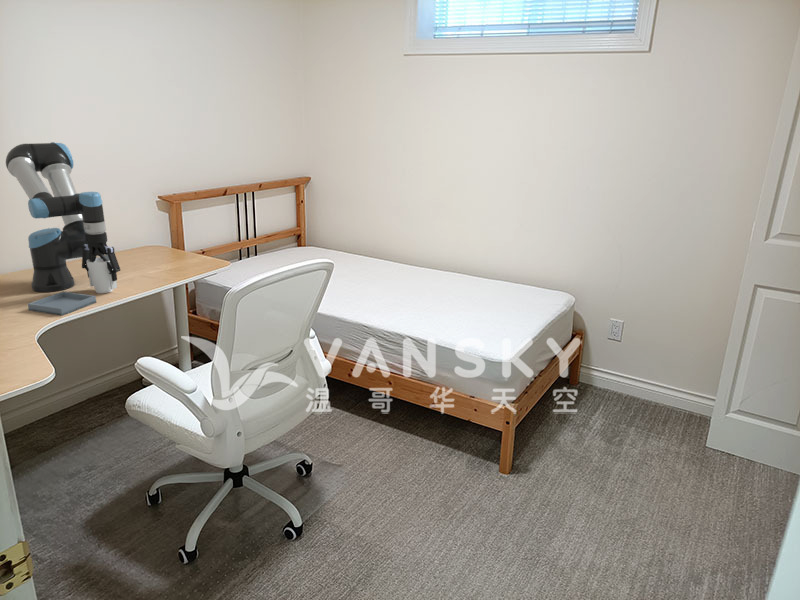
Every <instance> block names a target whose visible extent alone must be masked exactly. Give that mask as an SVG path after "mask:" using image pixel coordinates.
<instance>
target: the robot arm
mask: <svg viewBox="0 0 800 600" xmlns="http://www.w3.org/2000/svg"><path fill="white" fill-rule="evenodd" d="M5 167H6V169H7V171H8V172H9V174H10V175H11V176H13V177H14V178H16V181H18V183H19V185H20V186H21V187H22V189H23V191H24V192H25V194H26V196H27V197H28V202H27V206H28V211H29V214H30V216H31V217H32V218H33V219H48V218H49V219H50V218H57V217H58V218H59V217H61V218H62V221H63V224H64V225H63V227H62V230H61V228H58V227H51V228H50V227H48V228H42V229H39V230H36V231H33V232H32V233H30V234H29V235H28V237H27V238H28V248H29V251H30V256H31V262H32V268H33V273H32V274H33V275H32V281H31V289H32V291H34V292H38V293H49V292H50V293H52V292H58V291H64V290H67V289H70V288H72V287H74V286H75V284H76V283H75V279H74V277H73V275H72V273H71V272H70V270H69V268H68V266H67V260H72V259H73V260H74V259H79V258H81V268H82V269H85V270H86V272H87V277H88V279H89V285H90V287H91V288H93V287H94V285H93V282H92V278H91V275H90V272H89V269H88V267H87V260H88V259H90V262H94V261H95V260H96V257H100V258H101V259H103V261H104V262H105V261H109V260H110V262H107V268H108V270H109V272H110V273H109V281H110V287H111V289H113V290H115V289H117V288H118V276H117V273H118V272H121V267H120V264H119V261H118V259H117V256H116V253H115V247H114V246H111V247H110V246H108V245H107V242H108V234H107V232H106V231H107V228H106V222H105V221H106V220H105V215H104V208H103V200H102V195H101V194H100V192H98V191H83V192H80V193H77V191H76V188H75V185H74V182H73V181H72V177H71V175H70V174H71V173H72V170H73V168H74V159H73V156H72V153H71V150H70V149H69V147H67V145H66V144H64V143H62V142H53V141H52V142H45V143H43V142H42V143H37V142H36V143H21V144H18V145H16V146H14V147H13V148H11V149H10V150H9V151H8V153H7V155H6V157H5ZM38 172H39V173H40V174H41V176H42V178H44V179H46V180H47V181H48V185H49V186H50V190H51V192H52V193H51V192H50V190H49V188H48V187H47V185H46V184H45V183H44V181H43V180H42V178H41V176H40V175H39V174H38ZM52 194H53V195H52ZM112 269H113V270H112Z"/></svg>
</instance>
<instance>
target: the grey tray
mask: <svg viewBox="0 0 800 600" xmlns="http://www.w3.org/2000/svg"><path fill="white" fill-rule="evenodd" d="M96 303H97V297H96V295H90V294H84V293H77V292H71V291H69V292H68V291H64V290H62V291H61V292H58V293H54V294H52V295H49V296H45V297H43V298H39V299H37V300H34V301H32V302H29V303H27V308H28V311H30V312H35V313H36V312H37V313H41V314H49V315H56V316H60V317H63V316H66V315H68V314H71V313H73V312H76V311H78V310H81V309H83V308H86V307H89V306H91V305H94V304H96Z"/></svg>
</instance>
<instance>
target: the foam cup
mask: <svg viewBox="0 0 800 600" xmlns="http://www.w3.org/2000/svg"><path fill="white" fill-rule="evenodd" d="M107 262H110V260H109V261H105V262H104V261H103V259H101V258H100V256H96V260H95V261H94V262H90V259H88V260H87V267H88V269H89V272H90V275H91V278H92V282H93V285H94V286H93V287H94V291H95V293H97V294H107V293H111V292H113V291H114V289H111V287H110V281H109V273H110V272H109V270H108V268H107ZM112 270H113V269H112Z"/></svg>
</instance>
